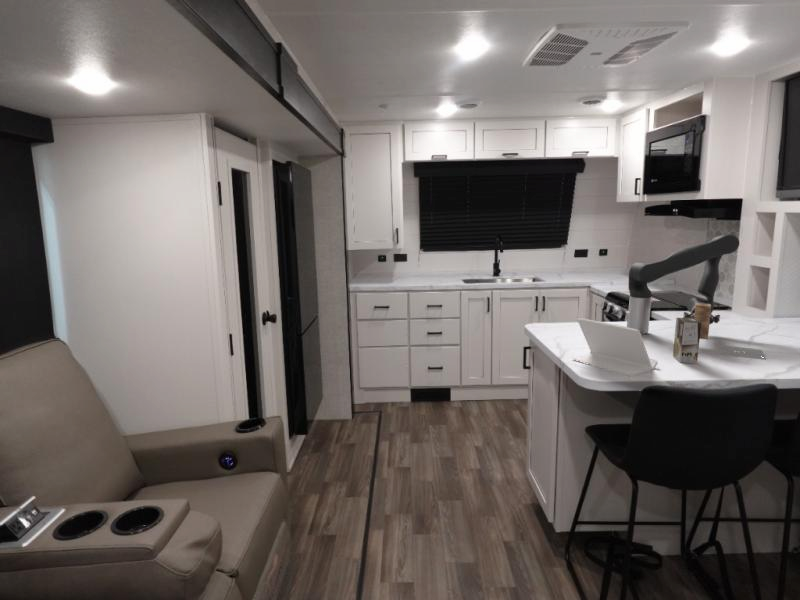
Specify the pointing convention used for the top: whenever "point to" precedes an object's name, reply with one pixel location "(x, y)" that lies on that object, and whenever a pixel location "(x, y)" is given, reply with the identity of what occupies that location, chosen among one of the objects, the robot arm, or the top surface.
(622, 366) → the white laptop
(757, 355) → the tile
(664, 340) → the top surface
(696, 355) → the coffee box
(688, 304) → the robot arm
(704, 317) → the brown wooden block
